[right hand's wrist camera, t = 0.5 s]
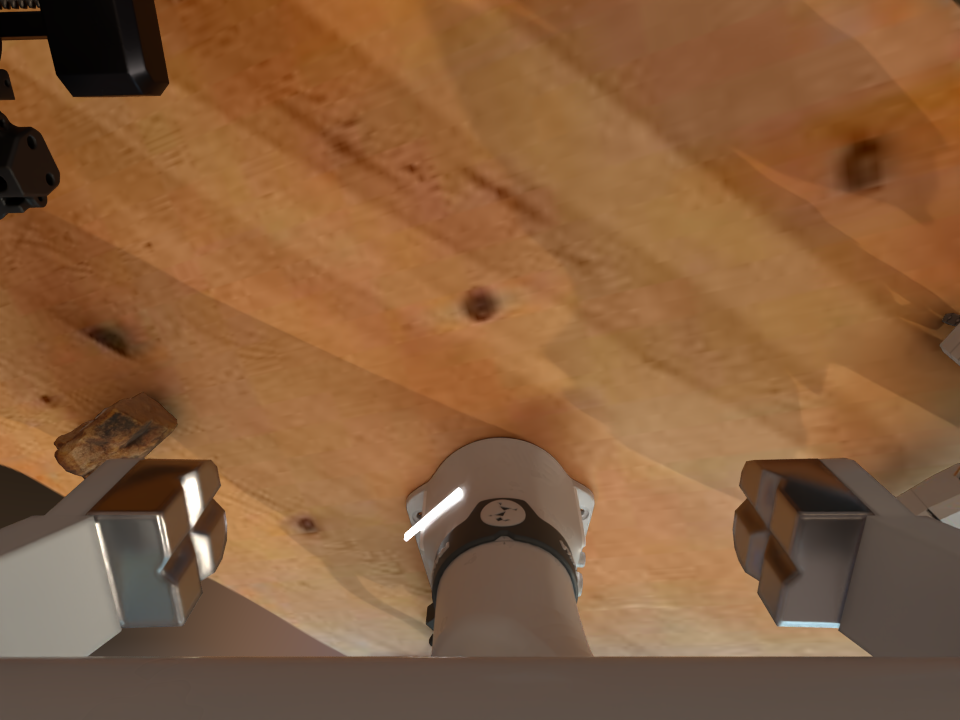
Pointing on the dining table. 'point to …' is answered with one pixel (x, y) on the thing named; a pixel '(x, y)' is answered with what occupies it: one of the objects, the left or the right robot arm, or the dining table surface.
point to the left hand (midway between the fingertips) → (60, 46)
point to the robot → (953, 490)
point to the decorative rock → (115, 435)
